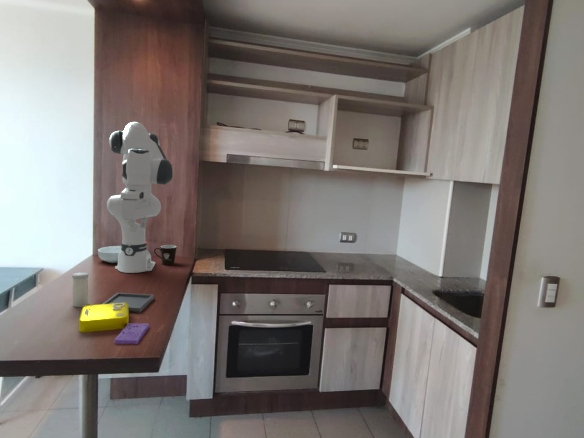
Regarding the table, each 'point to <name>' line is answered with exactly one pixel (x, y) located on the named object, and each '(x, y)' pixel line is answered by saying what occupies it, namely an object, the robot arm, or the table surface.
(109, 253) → the cereal bowl
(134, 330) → the sponges
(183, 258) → the table surface
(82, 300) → the tin
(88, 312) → the element tile
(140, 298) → the tray
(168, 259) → the coffee mug
